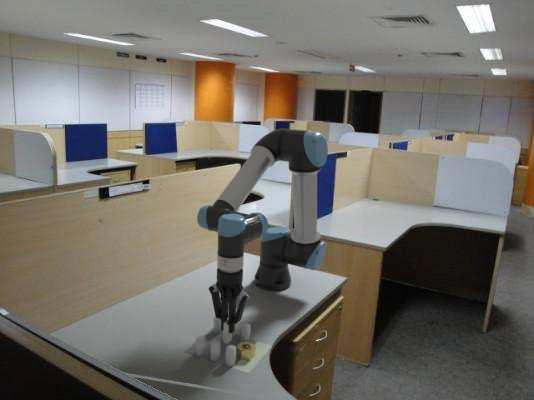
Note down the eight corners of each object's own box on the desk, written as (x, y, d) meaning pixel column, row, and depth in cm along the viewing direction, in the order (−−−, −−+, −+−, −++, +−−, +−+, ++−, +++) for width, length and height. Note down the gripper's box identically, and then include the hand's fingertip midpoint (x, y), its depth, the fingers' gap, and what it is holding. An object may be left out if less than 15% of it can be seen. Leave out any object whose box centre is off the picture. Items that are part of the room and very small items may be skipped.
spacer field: (213, 329, 145) (213, 313, 144) (272, 347, 137) (273, 330, 135) (184, 353, 131) (184, 336, 129) (248, 375, 122) (249, 357, 121)
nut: (242, 348, 134) (243, 339, 133) (257, 353, 132) (257, 344, 131) (233, 358, 129) (234, 348, 128) (248, 363, 127) (249, 353, 126)
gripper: (203, 267, 127) (202, 341, 133) (244, 277, 122) (240, 353, 128) (217, 259, 134) (215, 329, 140) (256, 268, 129) (252, 340, 135)
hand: (227, 340), depth 134 cm, fingers closed
